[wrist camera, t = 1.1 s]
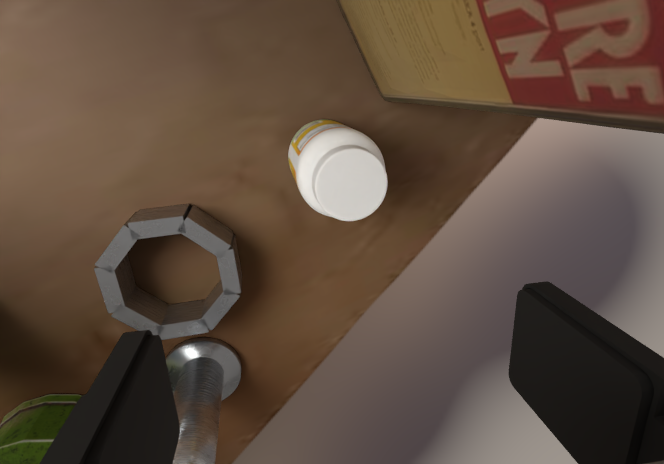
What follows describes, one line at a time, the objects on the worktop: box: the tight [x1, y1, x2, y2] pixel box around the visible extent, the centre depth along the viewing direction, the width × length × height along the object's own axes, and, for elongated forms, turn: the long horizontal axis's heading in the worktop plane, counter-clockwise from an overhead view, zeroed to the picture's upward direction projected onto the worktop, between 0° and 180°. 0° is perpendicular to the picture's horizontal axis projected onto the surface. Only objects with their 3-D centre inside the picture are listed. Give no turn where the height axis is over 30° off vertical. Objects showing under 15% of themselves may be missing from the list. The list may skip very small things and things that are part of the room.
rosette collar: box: [94, 204, 242, 340], centre depth 30 cm, size 9×9×3 cm
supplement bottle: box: [288, 119, 388, 221], centre depth 26 cm, size 5×5×10 cm
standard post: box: [166, 337, 241, 464], centre depth 28 cm, size 6×6×16 cm
